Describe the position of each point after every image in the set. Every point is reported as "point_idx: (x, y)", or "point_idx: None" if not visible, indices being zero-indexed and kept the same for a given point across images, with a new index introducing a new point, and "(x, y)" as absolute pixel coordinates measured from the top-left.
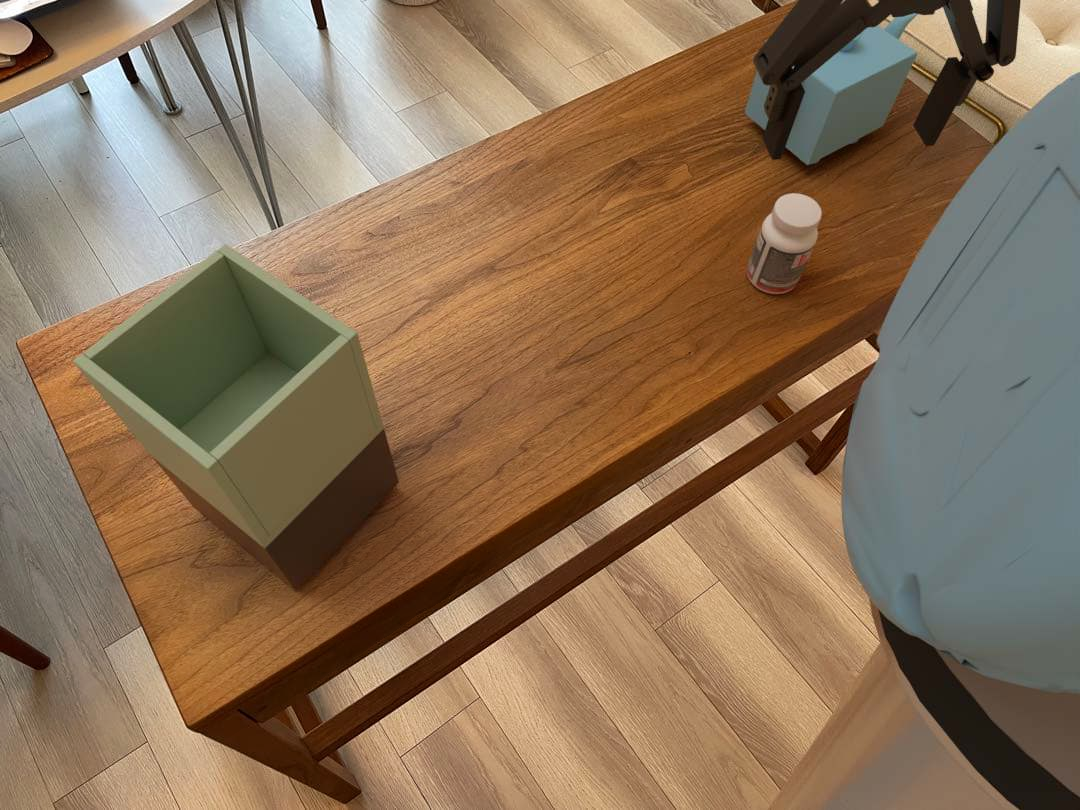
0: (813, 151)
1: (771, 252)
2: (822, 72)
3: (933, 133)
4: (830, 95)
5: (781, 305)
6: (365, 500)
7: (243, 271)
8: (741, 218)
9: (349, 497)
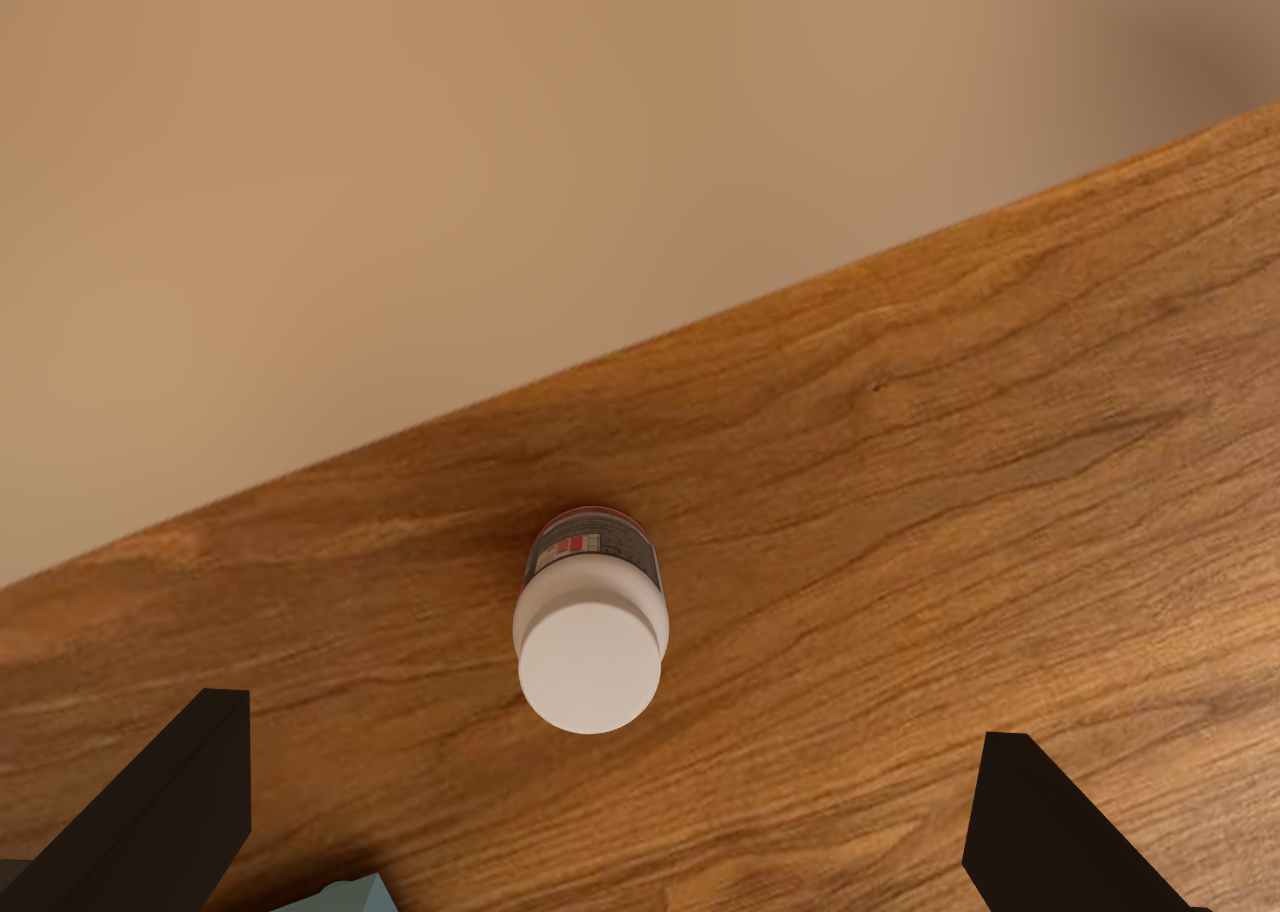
0: (363, 906)
1: (655, 579)
2: None
3: (207, 732)
4: None
5: (603, 475)
6: None
7: None
8: (595, 746)
9: None
